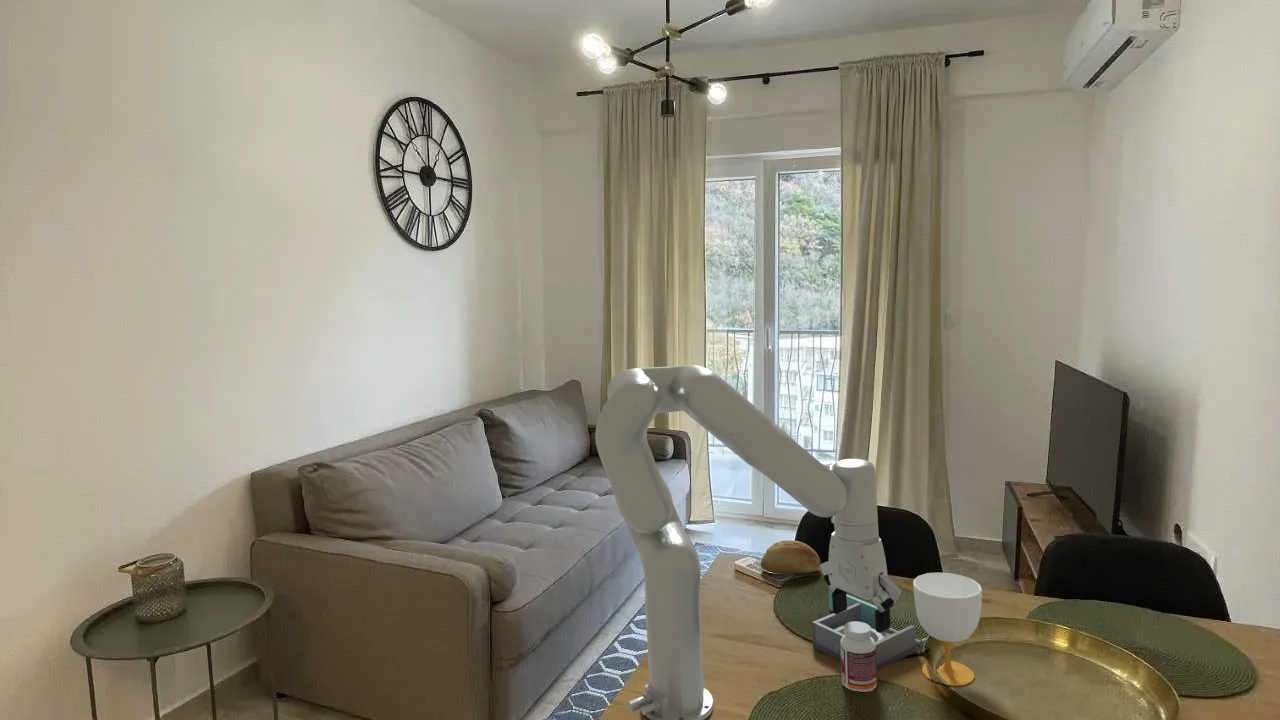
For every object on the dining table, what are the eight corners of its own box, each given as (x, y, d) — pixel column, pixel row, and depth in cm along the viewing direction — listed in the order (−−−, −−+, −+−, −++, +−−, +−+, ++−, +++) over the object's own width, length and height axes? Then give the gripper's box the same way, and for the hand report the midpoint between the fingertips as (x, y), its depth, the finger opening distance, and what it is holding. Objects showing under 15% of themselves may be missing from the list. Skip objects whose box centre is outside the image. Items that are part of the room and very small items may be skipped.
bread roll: (824, 579, 182) (823, 547, 182) (763, 581, 183) (762, 549, 182) (817, 564, 192) (816, 534, 191) (759, 566, 193) (758, 536, 192)
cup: (941, 696, 130) (940, 603, 128) (901, 664, 141) (899, 578, 139) (997, 683, 133) (997, 592, 131) (953, 652, 144) (952, 568, 142)
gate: (880, 633, 153) (879, 604, 153) (828, 610, 165) (828, 584, 164) (884, 631, 154) (883, 603, 153) (832, 609, 166) (831, 582, 165)
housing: (874, 677, 137) (873, 651, 136) (809, 644, 150) (808, 620, 150) (930, 648, 146) (930, 623, 146) (864, 620, 160) (864, 597, 159)
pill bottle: (884, 686, 134) (883, 628, 133) (861, 698, 131) (859, 638, 129) (856, 672, 139) (855, 616, 138) (834, 683, 136) (832, 626, 135)
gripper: (805, 523, 137) (810, 611, 139) (882, 547, 123) (887, 645, 124) (833, 513, 141) (838, 599, 143) (911, 535, 127) (915, 630, 128)
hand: (861, 620), depth 134 cm, fingers open, 9 cm apart
